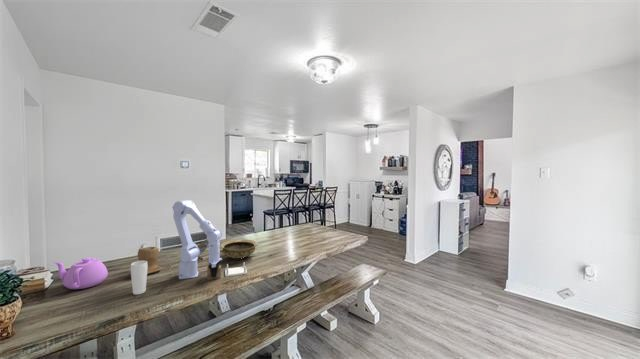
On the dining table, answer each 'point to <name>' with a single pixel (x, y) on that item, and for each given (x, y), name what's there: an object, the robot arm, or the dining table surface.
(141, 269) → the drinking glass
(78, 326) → the dining table surface
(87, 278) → the teapot
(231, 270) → the standoff plate
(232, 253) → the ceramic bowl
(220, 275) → the walnut block
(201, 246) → the bird figurine
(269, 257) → the dining table surface
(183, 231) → the robot arm
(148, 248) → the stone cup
